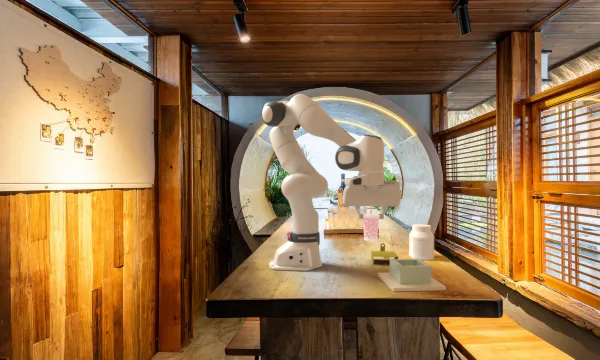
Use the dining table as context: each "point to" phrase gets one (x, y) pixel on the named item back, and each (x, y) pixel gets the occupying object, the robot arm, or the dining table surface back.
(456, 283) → the dining table surface
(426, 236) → the jar
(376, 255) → the bracket
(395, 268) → the cup well
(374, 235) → the beverage cup
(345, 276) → the dining table surface
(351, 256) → the dining table surface
